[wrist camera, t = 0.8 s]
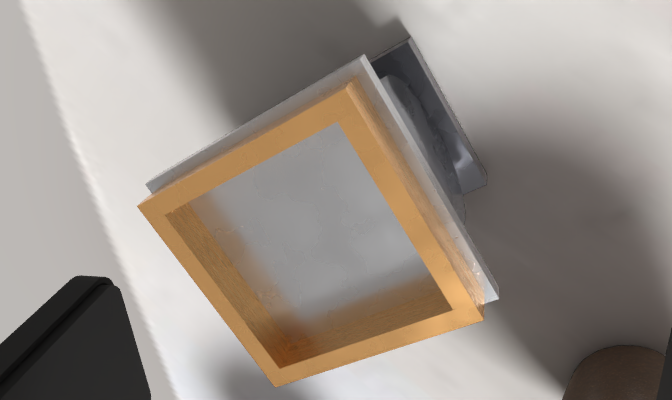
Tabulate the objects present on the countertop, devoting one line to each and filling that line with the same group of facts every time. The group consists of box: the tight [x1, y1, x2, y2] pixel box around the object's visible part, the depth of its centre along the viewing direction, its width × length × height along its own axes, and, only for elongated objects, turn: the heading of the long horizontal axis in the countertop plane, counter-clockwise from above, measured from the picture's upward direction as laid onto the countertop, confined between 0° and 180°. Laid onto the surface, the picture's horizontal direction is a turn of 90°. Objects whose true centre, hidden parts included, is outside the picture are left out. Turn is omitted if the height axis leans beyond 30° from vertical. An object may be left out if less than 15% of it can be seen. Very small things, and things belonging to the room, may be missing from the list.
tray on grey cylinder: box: [137, 37, 499, 387], centre depth 33 cm, size 14×13×14 cm
